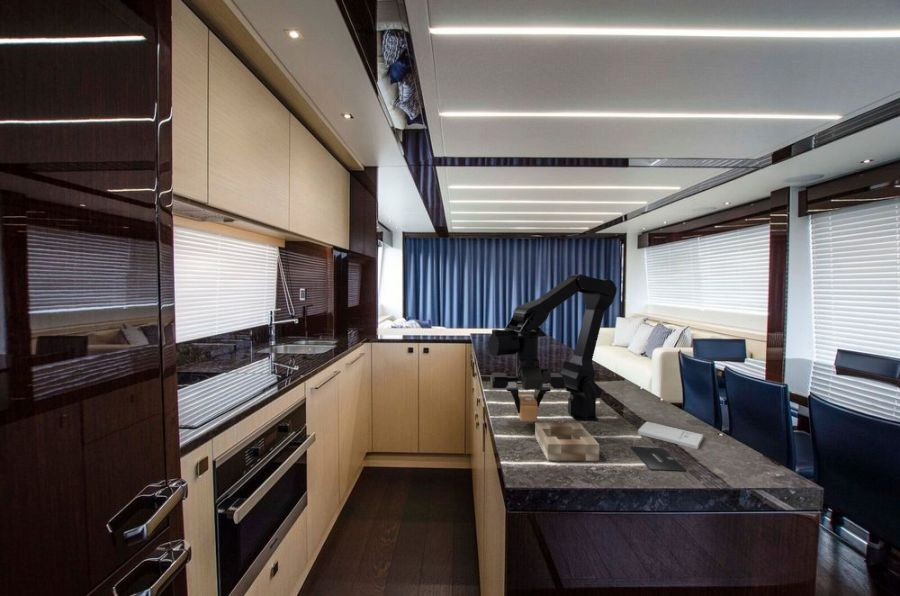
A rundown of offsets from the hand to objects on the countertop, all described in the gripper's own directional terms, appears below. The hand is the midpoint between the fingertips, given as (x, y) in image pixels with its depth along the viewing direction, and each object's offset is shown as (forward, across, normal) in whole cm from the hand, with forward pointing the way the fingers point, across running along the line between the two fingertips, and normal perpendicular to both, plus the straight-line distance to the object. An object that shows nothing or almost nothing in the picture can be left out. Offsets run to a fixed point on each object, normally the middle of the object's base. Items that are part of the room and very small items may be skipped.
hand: (526, 412), depth 95 cm
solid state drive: (+4, +24, -18) cm, 30 cm away
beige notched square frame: (+3, +6, -13) cm, 15 cm away
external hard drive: (+4, +34, -6) cm, 35 cm away
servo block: (+1, 0, 0) cm, 1 cm away
